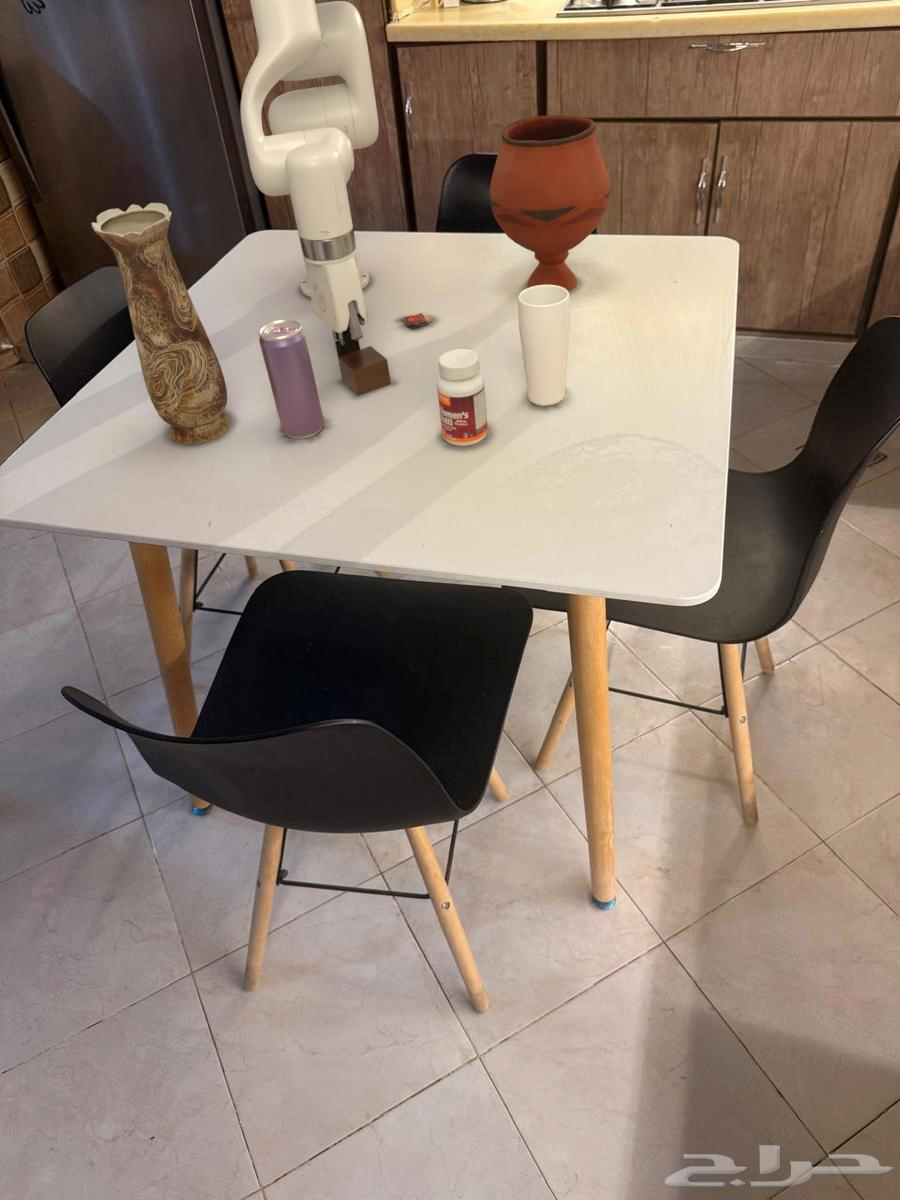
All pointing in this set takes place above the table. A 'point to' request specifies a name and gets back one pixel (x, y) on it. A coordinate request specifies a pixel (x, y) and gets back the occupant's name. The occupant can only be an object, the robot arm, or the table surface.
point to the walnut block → (364, 370)
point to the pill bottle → (461, 398)
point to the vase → (166, 325)
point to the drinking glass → (544, 341)
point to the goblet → (550, 190)
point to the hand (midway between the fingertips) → (351, 364)
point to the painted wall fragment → (416, 320)
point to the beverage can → (291, 378)
